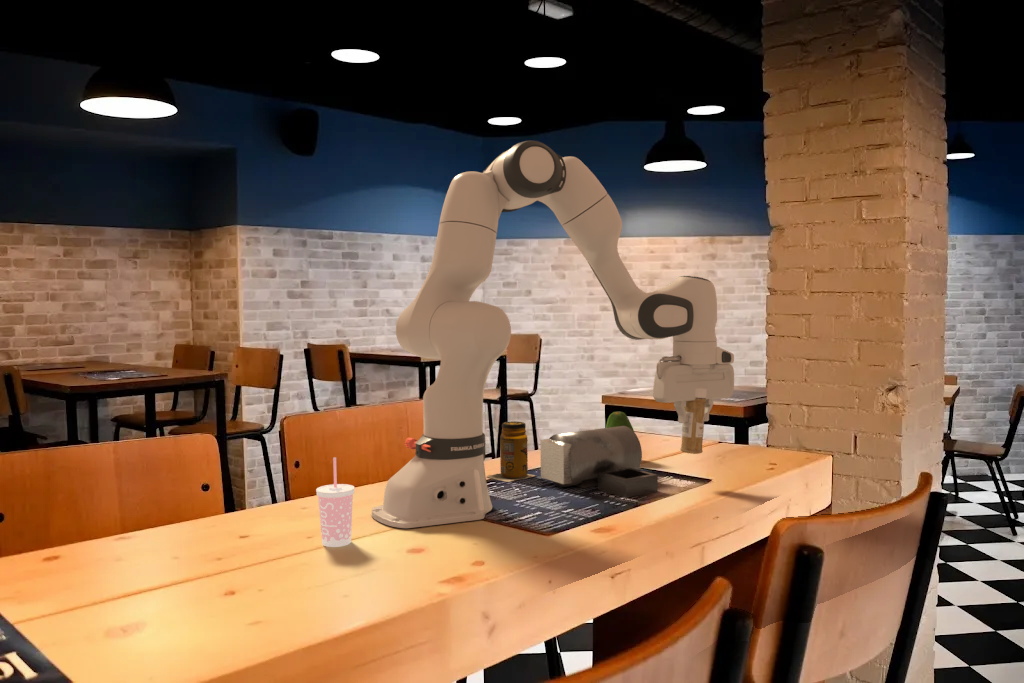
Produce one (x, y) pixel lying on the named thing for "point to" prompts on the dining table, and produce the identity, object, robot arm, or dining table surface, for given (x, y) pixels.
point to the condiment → (513, 453)
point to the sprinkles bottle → (694, 423)
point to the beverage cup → (335, 512)
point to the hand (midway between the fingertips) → (693, 421)
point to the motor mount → (597, 461)
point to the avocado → (618, 420)
